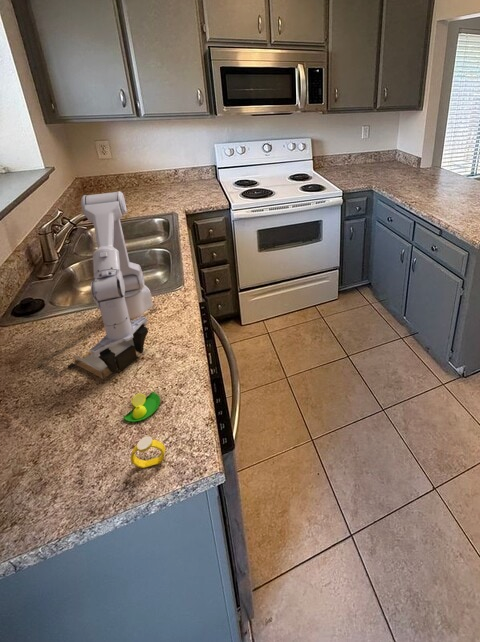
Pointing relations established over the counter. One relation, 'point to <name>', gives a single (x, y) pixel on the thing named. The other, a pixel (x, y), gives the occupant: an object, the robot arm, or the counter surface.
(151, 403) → the green plate with lemons
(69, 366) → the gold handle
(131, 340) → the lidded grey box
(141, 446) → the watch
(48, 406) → the counter surface
